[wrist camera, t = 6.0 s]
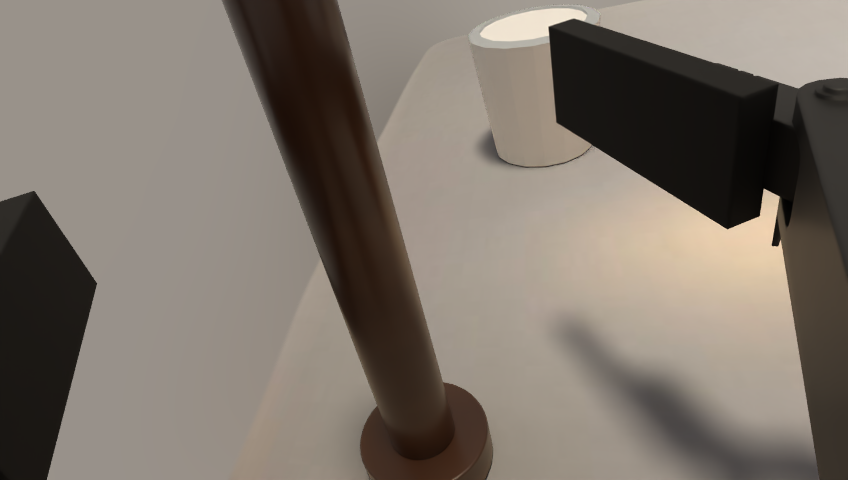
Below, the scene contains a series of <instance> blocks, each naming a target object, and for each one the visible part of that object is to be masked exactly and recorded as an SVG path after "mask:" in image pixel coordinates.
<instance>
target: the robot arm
mask: <svg viewBox="0 0 848 480" xmlns="http://www.w3.org/2000/svg"><path fill="white" fill-rule="evenodd" d="M548 28H549V41H550V53H551V65H552V77H553V89H554V101H555V113H556V123H558V124H559V125H561V126H563V127H564V128H566V129H567V130H569V131H571V132H572V133H574V134H575V135H577V136H579V137H580V138H582V139H584V140H585V141H587V142H588V143H590V144H592V145H593V146H595V147H596V148H598V149H600V150H601V151H603V152H604V153H606V154H608V155H609V156H611V157H612V158H614V159H616V160H617V161H619V162H620V163H622V164H624V165H625V166H627V167H628V168H630V169H632V170H633V171H635V172H636V173H638V174H640V175H641V176H643V177H644V178H646V179H648V180H649V181H651V182H652V183H654V184H656V185H657V186H659V187H660V188H662V189H664V190H665V191H667V192H668V193H670V194H672V195H673V196H675V197H676V198H678V199H680V200H681V201H683V202H684V203H686V204H688V205H689V206H691V207H692V208H694V209H696V210H697V211H699V212H700V213H702V214H704V215H705V216H707V217H708V218H710V219H712V220H713V221H715V222H716V223H718V224H720V225H721V226H723V227H724V228H726V229H729V228H732V227H734V226H737V225H739V224H741V223H744V222H746V221H749V220H751V219H754V218H756V217H759V216H760V210H761V203H762V196H763V189H766V190H768V191H770V192H772V193H774V194H776V195H778V196H780V199H779V205H778V211H777V217H776V223H775V229H774V235H773V241H772V246H778V245H779V242H780V240H781V243H782V249H783V255H784V261H785V268H786V274H787V280H788V286H789V292H790V299H791V305H792V311H793V317H794V323H795V330H796V336H797V342H798V348H799V354H800V361H801V367H802V373H803V379H804V386H805V392H806V398H807V404H808V410H809V417H810V423H811V429H812V435H813V441H814V448H815V454H816V460H817V466H818V473H819V479H820V480H848V78H834V79H826V80H818V81H815V82H811V83H808V84H805V85H804V86H802V87H801V88H799V89H798V88H795V87H791V86H788V85H785V84H782V83H779V82H776V81H772V80H769V79H766V78H763V77H760V76H753V74H750V73H747V72H744V71H738V69H735V68H731V67H728V66H725V65H722V64H719V63H712V62H709V61H706V60H703V59H700V58H697V57H694V56H690V55H687V54H684V53H681V52H678V51H675V50H672V49H669V48H665V47H662V46H659V45H656V44H653V43H650V42H647V41H644V40H640V39H637V38H634V37H631V36H628V35H625V34H622V33H618V32H615V31H612V30H609V29H606V28H603V27H600V26H597V25H593V24H590V23H587V22H584V21H581V20H578V19H575V18H573V19H570V20H567V21H564V22H561V23H558V24H555V25H551V26H548ZM96 285H97V283H96V281H95V280H94V278H93V277H92V276H91V274H90V272H89V271H88V269H87V268H86V267H85V265H84V264H83V262H82V261H81V259H80V258H79V256H78V255H77V253H76V252H75V250H74V249H73V247H72V246H71V244H70V243H69V241H68V240H67V238H66V237H65V235H64V234H63V233H62V231H61V230H60V228H59V227H58V225H57V224H56V222H55V221H54V219H53V218H52V216H51V215H50V213H49V212H48V210H47V209H46V207H45V206H44V204H43V203H42V202H41V200H40V199H39V197H38V196H37V194H36V193H35V191H32V192H29V193H26V194H23V195H20V196H17V197H13V198H10V199H7V200H4V201H1V202H0V480H47V477H48V473H49V468H50V465H51V461H52V457H53V453H54V449H55V445H56V441H57V438H58V433H59V429H60V426H61V421H62V418H63V414H64V410H65V406H66V402H67V399H68V395H69V390H70V387H71V383H72V379H73V375H74V371H75V367H76V363H77V359H78V356H79V352H80V348H81V344H82V340H83V336H84V332H85V328H86V324H87V321H88V317H89V312H90V309H91V305H92V301H93V297H94V293H95V289H96Z"/></svg>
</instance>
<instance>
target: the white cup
mask: <svg viewBox="0 0 848 480" xmlns="http://www.w3.org/2000/svg"><path fill="white" fill-rule="evenodd" d="M600 17H601V13H599V12H598V11H597V10H595V9H594V8H592V7H586V6H582V5H549V6H541V7H533V8H528V9H524V10H519V11H515V12H511V13H507V14H505V15H501V16H499V17H496V18H493V19H490V20H488V21H486V22H484V23H482V24H481V25H479V26H477V27H475V28H474V29H473V30H472V31H471V33H470V34H469V35H468V40H469V44H470V47H471V51H472V55H473V59H474V63H475V67H476V71H477V75H478V79H479V83H480V87H481V91H482V95H483V99H484V103H485V106H486V110H487V114H488V118H489V122H490V126H491V130H492V134H493V138H494V142H495V146H496V150H497V152H498V155H499V157H500V158H502V159H503V160H505V161H506V162H508V163H510V164H515V165H520V166H525V167H537V166H549V165H554V164H559V163H564V162H567V161H569V160H571V159H574V158H576V157H578V156H580V155H582V154H583V153H584V152H585V151H587V150H588V149H589V148H590V147H591V146H592V144H590V143H588V142H587V141H585V140H584V139H582V138H580V137H579V136H577V135H575V134H574V133H572V132H571V131H569V130H567V129H566V128H564V127H563V126H561V125H559V124H558V123H556V113H555V101H554V89H553V77H552V65H551V53H550V41H549V28H548V26H551V25H555V24H558V23H561V22H564V21H567V20H570V19H573V18H575V19H578V20H581V21H584V22H587V23H590V24H593V25H597V26H600Z"/></svg>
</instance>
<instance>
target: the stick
mask: <svg viewBox="0 0 848 480" xmlns="http://www.w3.org/2000/svg"><path fill="white" fill-rule="evenodd" d="M222 2H223V4H224V7H225V10H226V12H227V15H228V18H229V20H230V23H231V25H232V28H233V31H234V33H235V36H236V38H237V41H238V44H239V46H240V49H241V51H242V54H243V56H244V59H245V62H246V64H247V67H248V69H249V72H250V75H251V77H252V80H253V82H254V85H255V88H256V91H257V93H258V96H259V98H260V101H261V104H262V106H263V109H264V111H265V114H266V117H267V119H268V122H269V124H270V127H271V130H272V132H273V135H274V137H275V140H276V142H277V145H278V148H279V150H280V153H281V156H282V158H283V161H284V163H285V166H286V169H287V171H288V174H289V176H290V179H291V182H292V184H293V187H294V189H295V192H296V195H297V197H298V200H299V203H300V205H301V208H302V210H303V213H304V215H305V218H306V221H307V223H308V226H309V228H310V231H311V234H312V236H313V239H314V242H315V244H316V247H317V249H318V252H319V254H320V257H321V260H322V263H323V265H324V268H325V270H326V273H327V276H328V278H329V281H330V283H331V286H332V289H333V291H334V294H335V296H336V299H337V302H338V304H339V307H340V309H341V312H342V315H343V317H344V320H345V322H346V325H347V328H348V330H349V333H350V335H351V338H352V341H353V343H354V346H355V348H356V351H357V354H358V356H359V359H360V362H361V364H362V367H363V369H364V372H365V375H366V377H367V380H368V382H369V385H370V388H371V390H372V393H373V395H374V398H375V401H376V403H377V407H376V408H375V409H374V410H373V412H372V413H371V414H370V416H369V418H368V419H367V421H366V423H365V425H364V428H363V431H362V436H361V441H360V451H361V457H362V461H363V463H364V465H365V468H366V470H367V472H368V475H369V477H370V479H371V480H485V478H486V476H487V474H488V472H489V469H490V466H491V462H492V456H493V446H492V440H491V435H490V431H489V426H488V422H487V418H486V415H485V412H484V410H483V408H482V406H481V405H480V403H479V402H478V401H477V400H476V399H475V398H474V397H473V396H472V395H471V394H470V393H469V392H467V391H466V390H464V389H462V388H460V387H458V386H456V385H453V384H449V383H444V382H443V381H442V377H441V373H440V370H439V366H438V363H437V359H436V355H435V352H434V348H433V345H432V341H431V337H430V334H429V330H428V327H427V323H426V319H425V316H424V312H423V308H422V305H421V301H420V298H419V294H418V290H417V287H416V283H415V280H414V276H413V272H412V269H411V265H410V261H409V258H408V254H407V251H406V247H405V243H404V240H403V236H402V233H401V229H400V225H399V222H398V218H397V214H396V211H395V207H394V204H393V200H392V196H391V193H390V189H389V186H388V182H387V178H386V175H385V171H384V168H383V164H382V160H381V157H380V153H379V149H378V146H377V142H376V139H375V135H374V132H373V128H372V124H371V121H370V117H369V113H368V110H367V107H366V103H365V99H364V95H363V92H362V88H361V84H360V81H359V77H358V74H357V70H356V66H355V63H354V59H353V56H352V52H351V48H350V45H349V41H348V37H347V34H346V30H345V27H344V23H343V19H342V16H341V12H340V9H339V5H338V1H337V0H222Z"/></svg>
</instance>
